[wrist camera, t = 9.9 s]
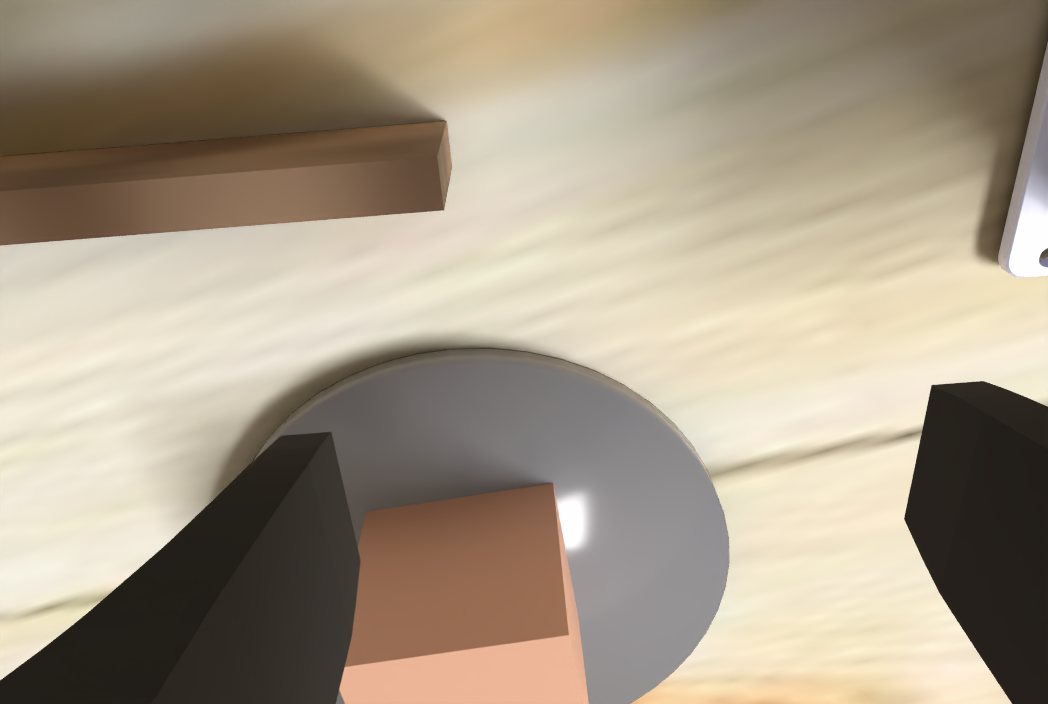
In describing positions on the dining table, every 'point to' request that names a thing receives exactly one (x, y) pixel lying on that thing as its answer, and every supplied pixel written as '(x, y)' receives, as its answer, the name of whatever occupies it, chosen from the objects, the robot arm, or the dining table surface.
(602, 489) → the charcoal plate
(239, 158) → the walnut bay
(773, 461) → the dining table surface
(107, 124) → the dining table surface
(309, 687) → the robot arm
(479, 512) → the terracotta block
